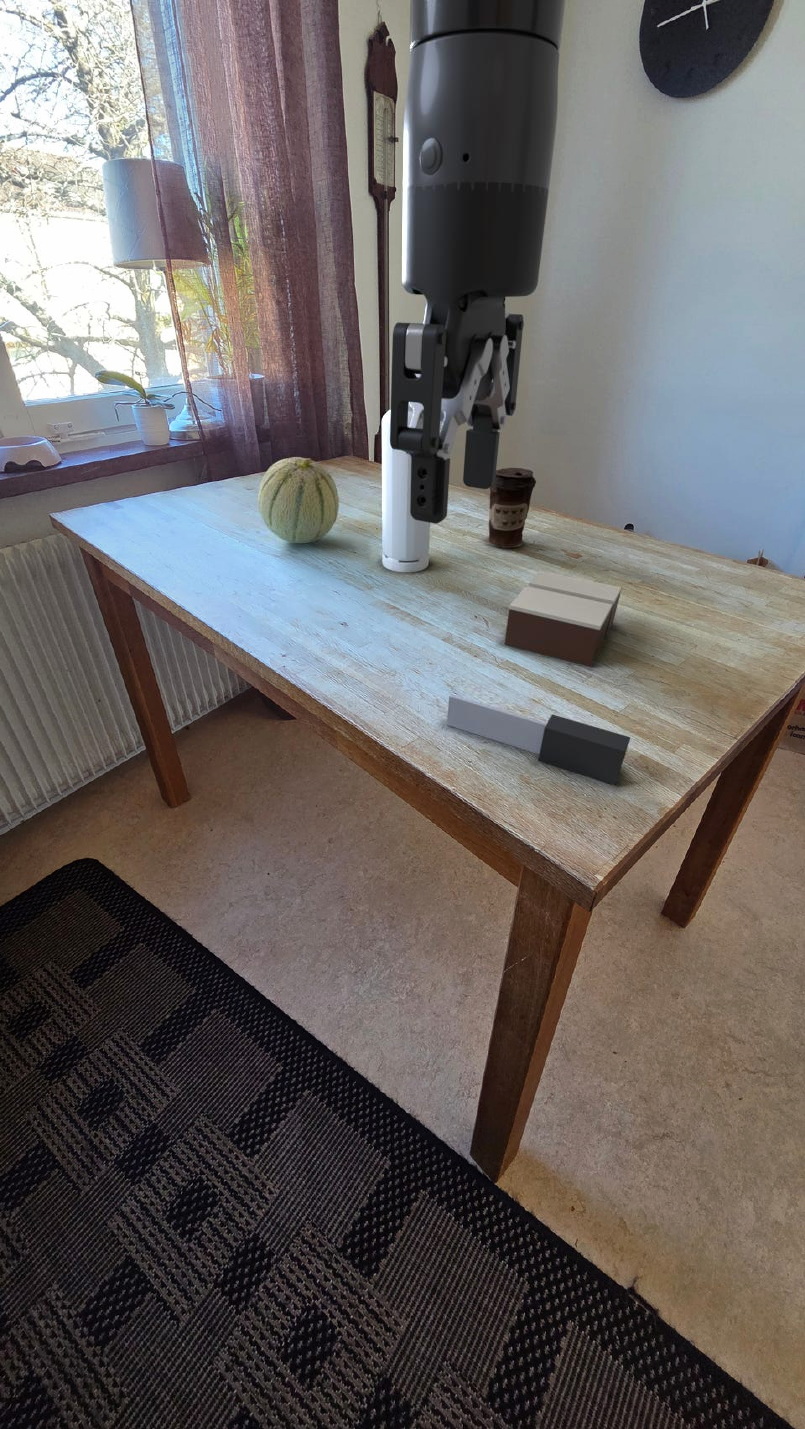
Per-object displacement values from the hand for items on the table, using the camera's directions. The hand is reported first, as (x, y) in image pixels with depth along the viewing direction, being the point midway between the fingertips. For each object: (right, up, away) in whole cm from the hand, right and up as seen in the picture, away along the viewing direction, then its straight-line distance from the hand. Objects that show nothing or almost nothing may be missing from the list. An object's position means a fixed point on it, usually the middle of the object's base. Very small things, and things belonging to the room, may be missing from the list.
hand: (455, 502), depth 41 cm
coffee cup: (+16, +18, +74) cm, 77 cm away
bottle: (-3, +12, +65) cm, 66 cm away
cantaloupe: (-23, +18, +73) cm, 79 cm away
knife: (+10, -18, +24) cm, 32 cm away
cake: (+17, -5, +43) cm, 46 cm away
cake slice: (+21, -1, +48) cm, 52 cm away
